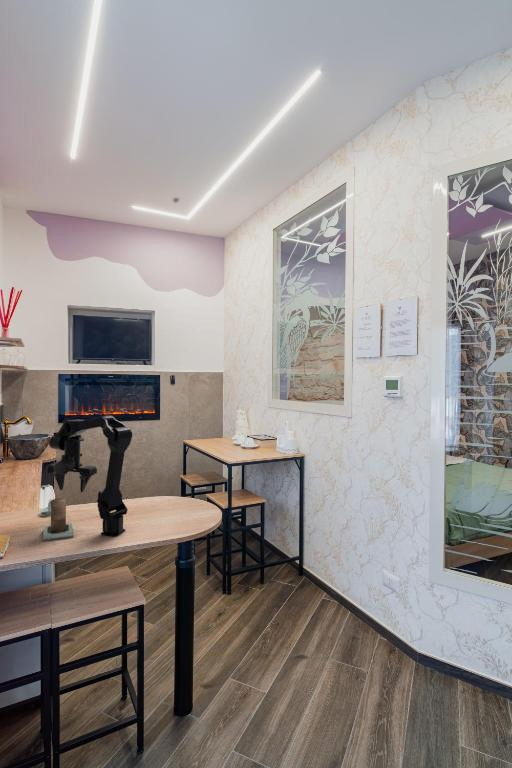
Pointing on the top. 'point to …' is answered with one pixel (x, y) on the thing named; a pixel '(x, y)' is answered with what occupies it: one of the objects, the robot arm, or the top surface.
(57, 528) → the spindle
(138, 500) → the top surface
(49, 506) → the pacifier
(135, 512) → the top surface
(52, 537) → the green square tray
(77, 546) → the top surface
